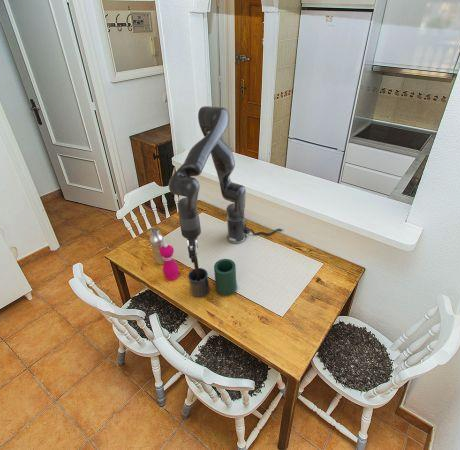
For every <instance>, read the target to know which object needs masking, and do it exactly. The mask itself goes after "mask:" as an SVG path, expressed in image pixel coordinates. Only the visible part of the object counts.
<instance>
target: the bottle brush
mask: <svg viewBox="0 0 460 450" xmlns="http://www.w3.org/2000/svg"><path fill="white" fill-rule="evenodd" d="M196 254H197V255H196V256H197V257H198V252H197V251H196ZM193 266H194V269H195V273H196V280H195V281H200V280H203V279H201V278H200V274H199V268H200V267H199V261H198V259H197V262H196V263H193Z"/></svg>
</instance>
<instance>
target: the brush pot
mask: <svg viewBox="0 0 460 450" xmlns="http://www.w3.org/2000/svg"><path fill="white" fill-rule="evenodd" d="M199 274H200V278H201V279H203V280H200V281H195V280H196V273H195V268H193V269H191V270H190V271H189V272H188V274H187V277H188V284H189V290H190V293H191V294H190V295H192V296H193V297H194V298H204V297H206V296H207V295H208V294H209V292H210V282H209V281H210V280H209V274H208V271H207V270H206V269H205V268H204V267H203V268H202V267H199Z"/></svg>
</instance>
